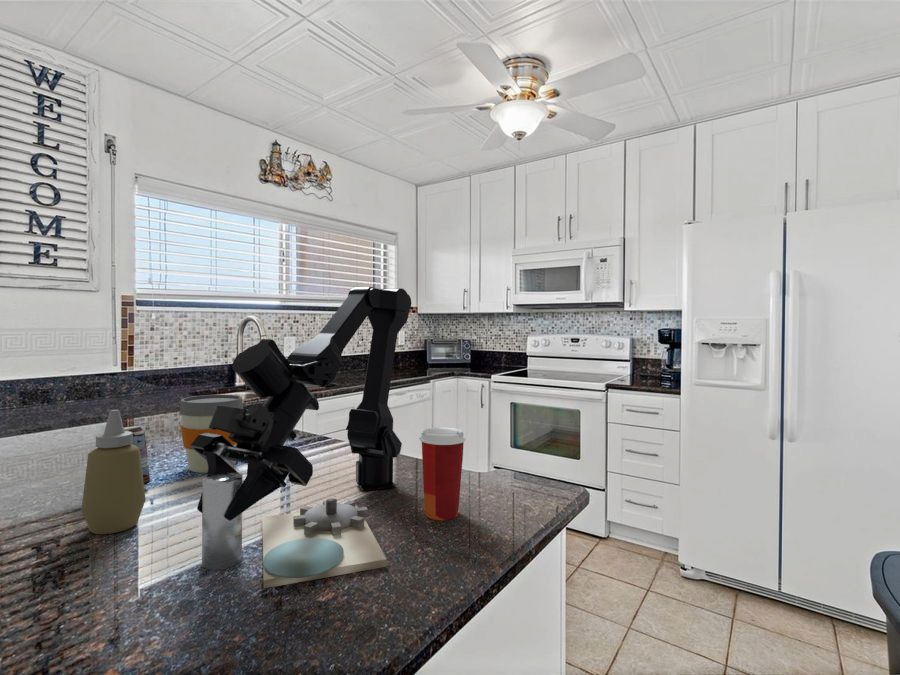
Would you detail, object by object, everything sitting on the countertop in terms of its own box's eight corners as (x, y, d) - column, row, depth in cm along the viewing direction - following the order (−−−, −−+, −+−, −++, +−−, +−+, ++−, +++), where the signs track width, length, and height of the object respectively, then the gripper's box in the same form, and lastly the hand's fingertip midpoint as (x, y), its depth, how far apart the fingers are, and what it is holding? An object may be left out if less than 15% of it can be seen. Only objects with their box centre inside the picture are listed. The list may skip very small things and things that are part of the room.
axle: (242, 550, 66) (243, 471, 66) (241, 566, 62) (242, 482, 62) (203, 555, 64) (204, 475, 64) (199, 572, 60) (200, 486, 60)
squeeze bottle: (103, 517, 77) (103, 405, 76) (156, 516, 77) (156, 406, 77) (67, 539, 69) (67, 415, 68) (126, 538, 69) (126, 415, 69)
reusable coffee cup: (254, 464, 107) (255, 397, 106) (200, 479, 96) (200, 405, 96) (222, 455, 114) (222, 392, 113) (167, 468, 103) (167, 399, 103)
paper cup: (469, 509, 83) (471, 428, 82) (456, 526, 75) (457, 438, 75) (428, 502, 85) (429, 425, 85) (410, 519, 78) (411, 433, 78)
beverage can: (130, 498, 85) (130, 431, 85) (96, 494, 87) (96, 429, 86) (158, 486, 91) (159, 424, 91) (126, 483, 93) (126, 422, 92)
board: (359, 509, 82) (360, 484, 82) (393, 569, 62) (393, 537, 62) (262, 521, 76) (262, 495, 76) (263, 592, 56) (264, 557, 56)
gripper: (202, 378, 70) (123, 472, 61) (298, 387, 62) (225, 497, 52) (246, 422, 78) (182, 512, 68) (337, 435, 69) (279, 540, 60)
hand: (213, 515), depth 62 cm, fingers closed on axle, 5 cm apart
